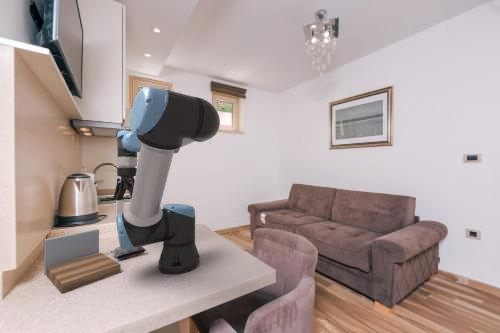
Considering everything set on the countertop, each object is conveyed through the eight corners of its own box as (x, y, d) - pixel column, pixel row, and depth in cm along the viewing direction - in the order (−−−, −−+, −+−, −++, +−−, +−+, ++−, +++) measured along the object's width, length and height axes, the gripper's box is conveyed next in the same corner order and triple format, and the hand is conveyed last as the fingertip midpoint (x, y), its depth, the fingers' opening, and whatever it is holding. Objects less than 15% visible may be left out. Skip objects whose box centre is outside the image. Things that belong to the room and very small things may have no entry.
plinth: (120, 272, 75) (120, 264, 75) (61, 294, 62) (61, 283, 62) (100, 260, 86) (100, 252, 86) (46, 276, 73) (46, 267, 73)
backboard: (98, 259, 87) (99, 229, 87) (45, 274, 74) (45, 240, 74) (97, 257, 88) (97, 229, 88) (44, 273, 75) (44, 239, 75)
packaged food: (110, 256, 89) (110, 245, 89) (140, 249, 98) (140, 238, 98) (115, 263, 83) (115, 251, 83) (147, 255, 92) (147, 243, 92)
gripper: (151, 166, 88) (151, 218, 87) (122, 168, 102) (122, 212, 101) (133, 166, 81) (133, 221, 81) (105, 167, 96) (104, 215, 95)
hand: (127, 216), depth 91 cm, fingers open, 13 cm apart
